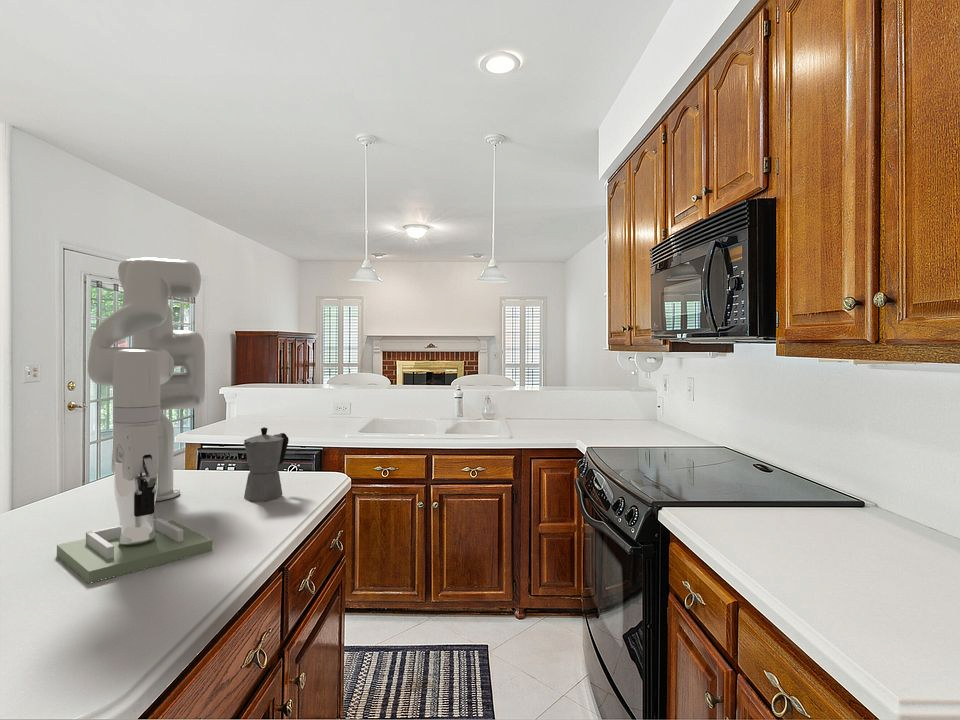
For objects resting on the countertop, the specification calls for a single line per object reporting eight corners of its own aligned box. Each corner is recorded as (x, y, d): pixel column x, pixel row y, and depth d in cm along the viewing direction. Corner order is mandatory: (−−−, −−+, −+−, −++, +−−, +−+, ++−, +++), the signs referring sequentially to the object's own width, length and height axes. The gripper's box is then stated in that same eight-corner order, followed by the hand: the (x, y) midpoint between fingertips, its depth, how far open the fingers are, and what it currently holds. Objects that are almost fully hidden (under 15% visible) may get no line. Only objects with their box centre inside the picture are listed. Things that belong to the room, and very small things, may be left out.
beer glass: (138, 547, 100) (137, 463, 100) (105, 544, 102) (104, 462, 101) (167, 534, 107) (166, 456, 107) (136, 532, 108) (134, 455, 108)
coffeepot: (259, 505, 136) (259, 432, 136) (229, 501, 140) (230, 429, 139) (301, 491, 150) (301, 424, 150) (273, 487, 154) (273, 422, 153)
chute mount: (56, 555, 102) (56, 534, 102) (172, 529, 118) (172, 510, 118) (88, 583, 91) (88, 559, 91) (212, 550, 106) (212, 529, 106)
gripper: (97, 412, 106) (97, 505, 107) (131, 422, 95) (131, 525, 96) (141, 409, 112) (140, 497, 113) (178, 418, 101) (177, 516, 102)
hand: (136, 509), depth 104 cm, fingers open, 6 cm apart
